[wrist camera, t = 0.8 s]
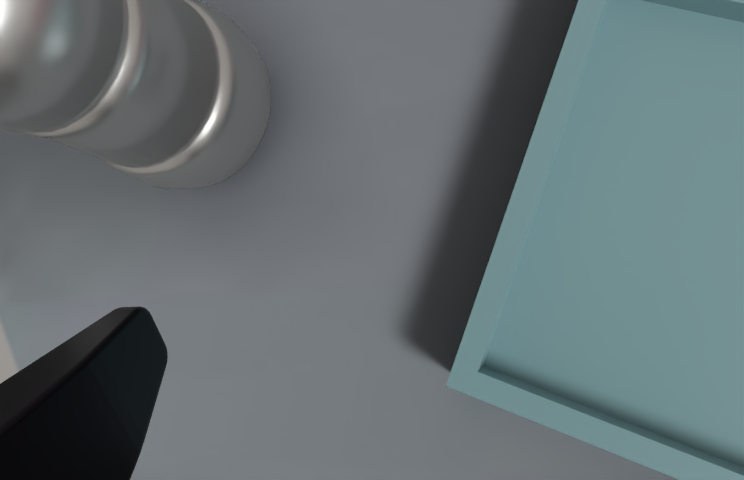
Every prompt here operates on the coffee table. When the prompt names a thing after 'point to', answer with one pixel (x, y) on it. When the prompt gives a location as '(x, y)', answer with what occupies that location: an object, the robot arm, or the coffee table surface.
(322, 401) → the coffee table surface
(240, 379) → the coffee table surface
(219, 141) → the plastic bottle
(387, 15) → the coffee table surface
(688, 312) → the tray
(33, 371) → the robot arm
